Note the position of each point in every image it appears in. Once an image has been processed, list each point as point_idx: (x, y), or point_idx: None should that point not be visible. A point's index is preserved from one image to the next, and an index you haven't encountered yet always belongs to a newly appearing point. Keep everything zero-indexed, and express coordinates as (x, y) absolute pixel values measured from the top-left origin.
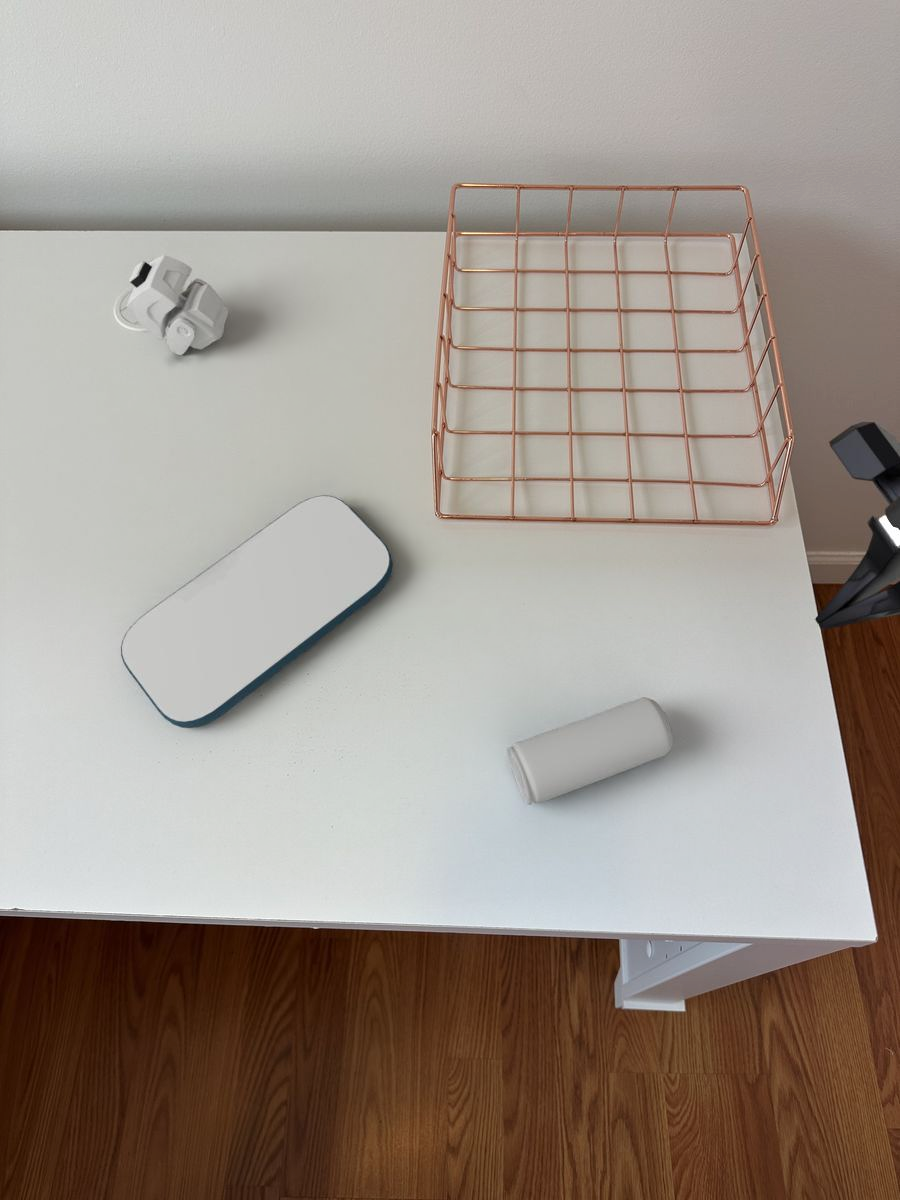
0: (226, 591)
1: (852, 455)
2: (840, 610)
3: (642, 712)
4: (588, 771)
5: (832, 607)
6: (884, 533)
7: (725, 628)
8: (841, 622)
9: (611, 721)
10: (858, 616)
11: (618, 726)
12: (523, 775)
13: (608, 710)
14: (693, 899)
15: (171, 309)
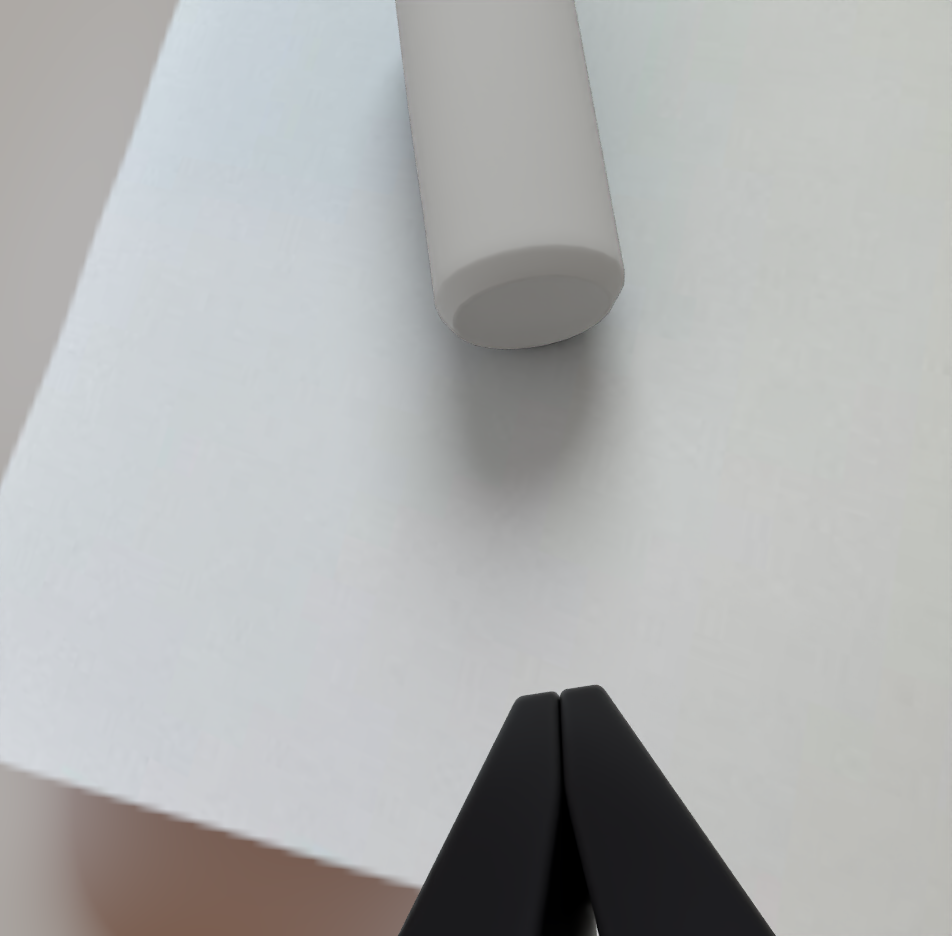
0: None
1: None
2: (553, 818)
3: (545, 202)
4: (415, 47)
5: (607, 779)
6: None
7: (861, 681)
8: (470, 798)
9: (539, 112)
10: (422, 915)
11: (515, 121)
12: None
13: (592, 145)
14: (114, 341)
15: None
